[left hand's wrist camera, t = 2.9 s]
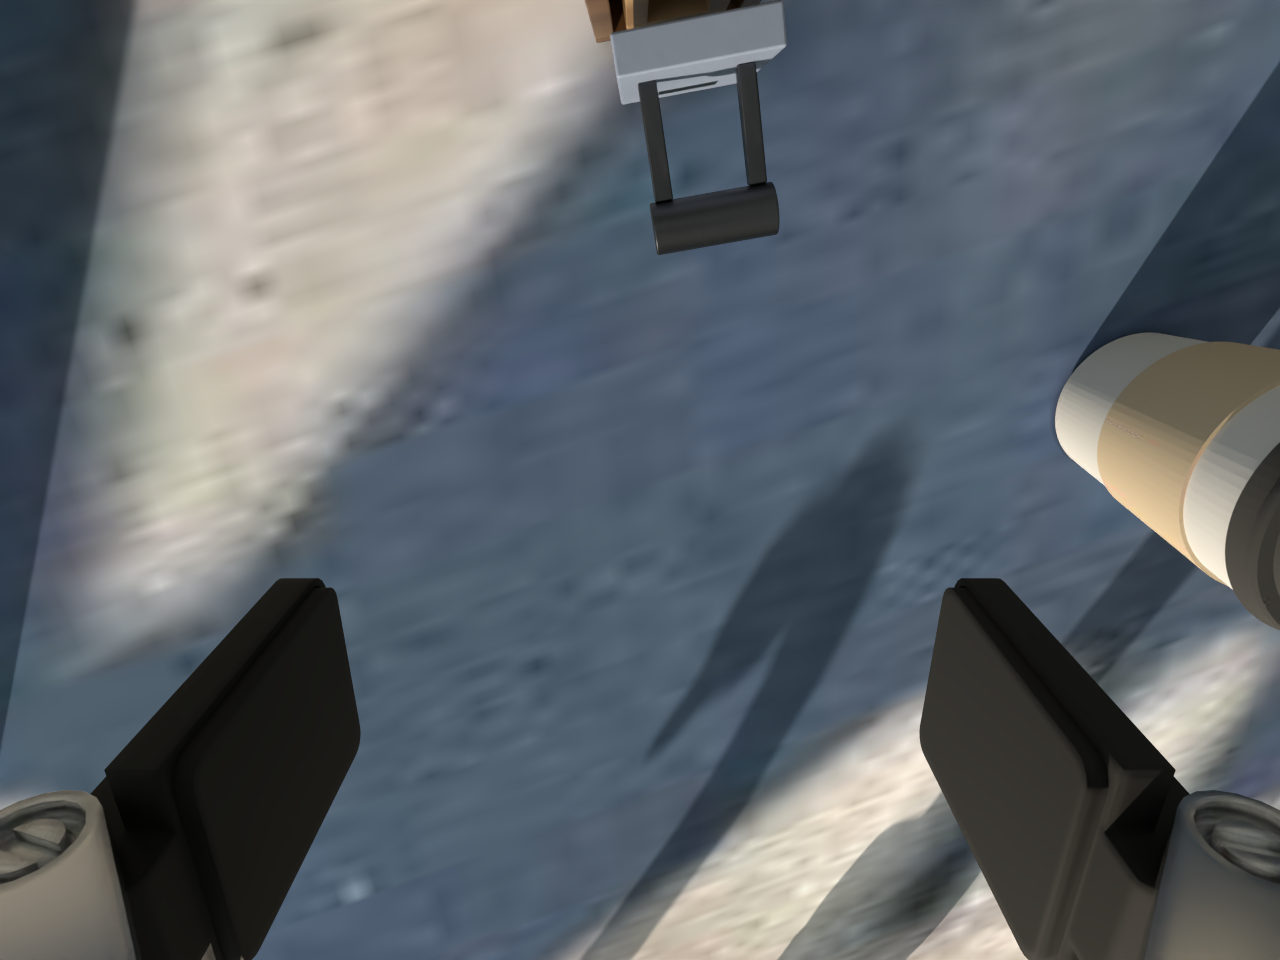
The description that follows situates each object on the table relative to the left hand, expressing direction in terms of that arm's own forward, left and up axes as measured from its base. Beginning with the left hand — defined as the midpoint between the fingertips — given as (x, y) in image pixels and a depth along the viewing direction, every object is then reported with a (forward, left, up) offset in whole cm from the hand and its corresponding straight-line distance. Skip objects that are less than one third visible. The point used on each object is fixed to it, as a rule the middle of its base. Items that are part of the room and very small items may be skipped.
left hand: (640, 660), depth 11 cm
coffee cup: (+17, +16, -24) cm, 34 cm away
